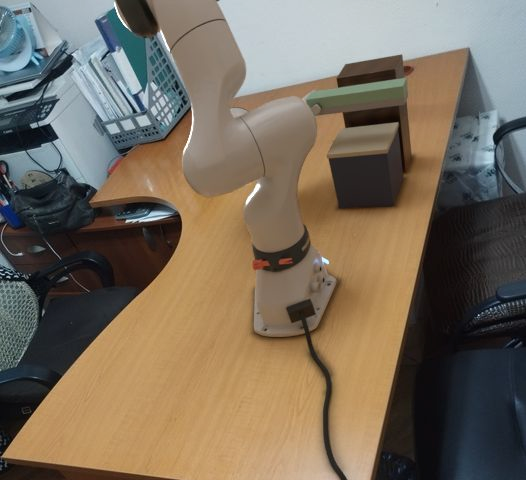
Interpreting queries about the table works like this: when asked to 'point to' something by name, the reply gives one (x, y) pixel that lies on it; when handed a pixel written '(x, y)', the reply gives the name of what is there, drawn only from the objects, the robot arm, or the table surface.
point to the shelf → (376, 73)
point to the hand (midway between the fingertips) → (323, 100)
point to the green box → (360, 97)
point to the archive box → (366, 165)
